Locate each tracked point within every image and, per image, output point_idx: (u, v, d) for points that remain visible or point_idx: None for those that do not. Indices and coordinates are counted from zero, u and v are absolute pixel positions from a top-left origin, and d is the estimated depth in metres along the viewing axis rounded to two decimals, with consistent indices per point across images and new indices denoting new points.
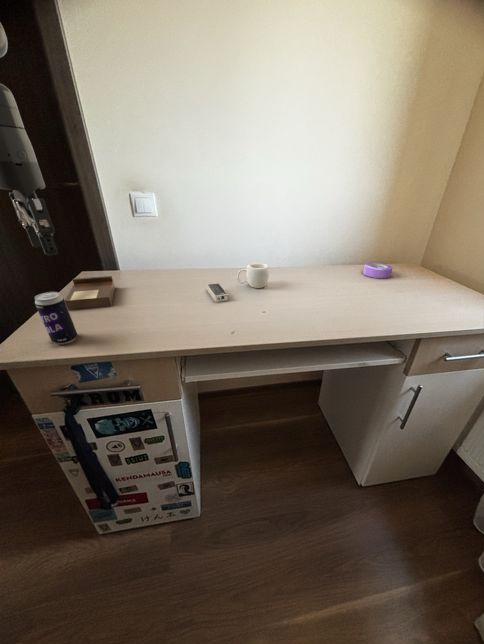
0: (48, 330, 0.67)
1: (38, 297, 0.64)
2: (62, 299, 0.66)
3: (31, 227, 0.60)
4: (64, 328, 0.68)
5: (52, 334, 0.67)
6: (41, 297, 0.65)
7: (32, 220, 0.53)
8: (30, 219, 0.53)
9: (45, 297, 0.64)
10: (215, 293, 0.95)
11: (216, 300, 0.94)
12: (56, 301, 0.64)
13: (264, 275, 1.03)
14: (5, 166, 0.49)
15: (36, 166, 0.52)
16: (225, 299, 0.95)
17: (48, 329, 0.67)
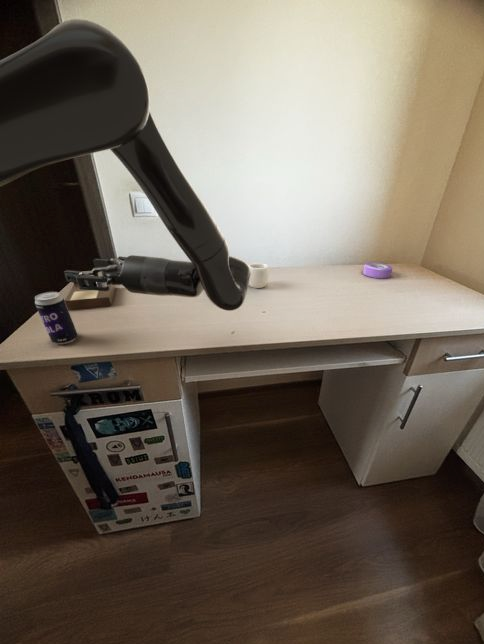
0: (48, 330, 0.67)
1: (38, 297, 0.64)
2: (62, 299, 0.66)
3: (110, 264, 0.62)
4: (64, 328, 0.68)
5: (52, 334, 0.67)
6: (41, 297, 0.65)
7: (95, 272, 0.55)
8: (96, 271, 0.55)
9: (45, 297, 0.64)
10: None
11: None
12: (56, 301, 0.64)
13: (264, 275, 1.03)
14: (136, 271, 0.54)
15: (144, 293, 0.57)
16: None
17: (48, 329, 0.67)
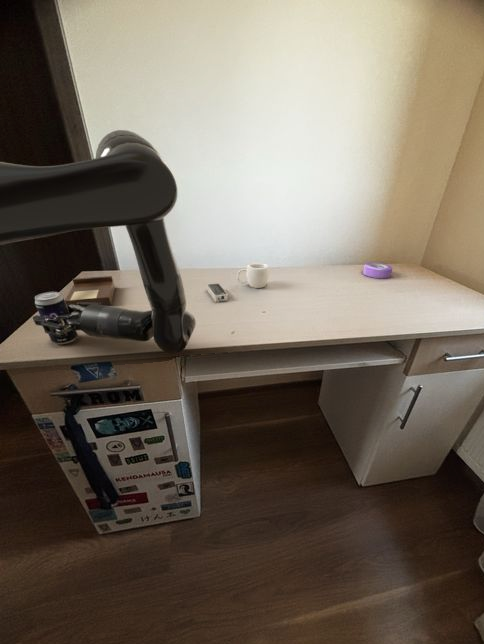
0: None
1: (38, 297, 0.64)
2: (62, 299, 0.66)
3: (70, 310, 0.70)
4: None
5: None
6: (41, 296, 0.65)
7: (58, 319, 0.64)
8: (59, 318, 0.64)
9: (45, 297, 0.64)
10: (215, 293, 0.95)
11: (216, 300, 0.94)
12: (56, 301, 0.64)
13: (264, 275, 1.03)
14: (93, 320, 0.62)
15: None
16: (225, 299, 0.95)
17: None
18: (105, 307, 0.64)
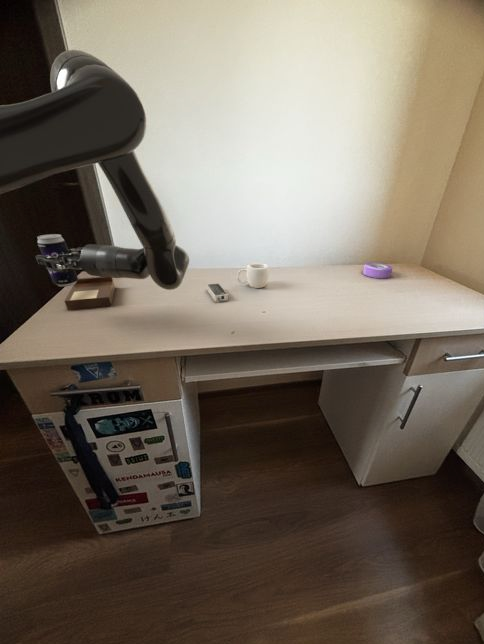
0: (50, 271, 0.70)
1: (40, 237, 0.68)
2: (63, 240, 0.69)
3: None
4: None
5: (53, 274, 0.71)
6: (43, 237, 0.68)
7: (59, 257, 0.67)
8: (60, 256, 0.67)
9: (47, 237, 0.68)
10: (215, 293, 0.95)
11: (216, 300, 0.94)
12: (57, 240, 0.68)
13: (264, 275, 1.03)
14: (92, 256, 0.65)
15: (101, 275, 0.69)
16: (225, 299, 0.95)
17: None
18: (103, 245, 0.67)
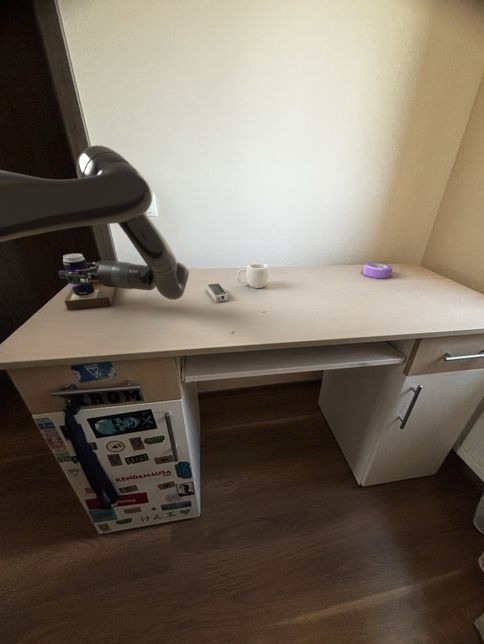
0: (72, 284, 0.83)
1: (65, 256, 0.81)
2: (84, 259, 0.82)
3: (92, 266, 0.87)
4: None
5: (75, 287, 0.84)
6: (68, 256, 0.81)
7: (80, 272, 0.79)
8: (80, 271, 0.79)
9: (71, 256, 0.81)
10: (215, 293, 0.95)
11: (216, 300, 0.94)
12: (79, 259, 0.81)
13: (264, 275, 1.03)
14: (108, 271, 0.78)
15: (115, 287, 0.81)
16: (225, 299, 0.95)
17: None
18: (117, 262, 0.80)
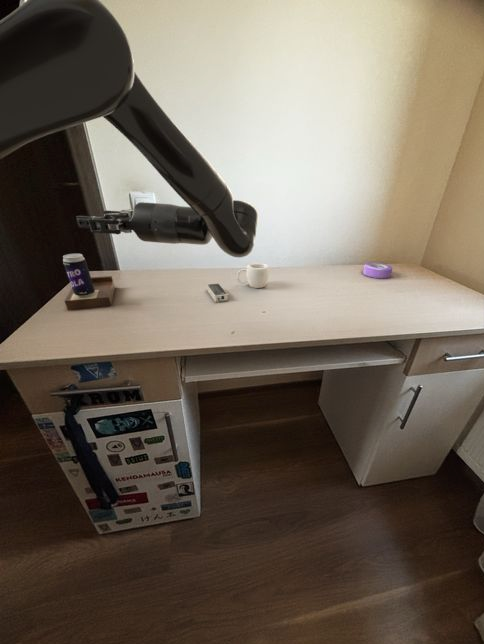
0: (72, 284, 0.83)
1: (65, 256, 0.81)
2: (84, 259, 0.82)
3: None
4: (85, 282, 0.84)
5: (75, 287, 0.84)
6: (68, 256, 0.81)
7: (107, 217, 0.56)
8: (107, 216, 0.56)
9: (71, 256, 0.81)
10: (215, 293, 0.95)
11: (216, 300, 0.94)
12: (79, 259, 0.81)
13: (264, 275, 1.03)
14: (147, 215, 0.55)
15: (154, 240, 0.58)
16: (225, 299, 0.95)
17: (72, 283, 0.83)
18: None
